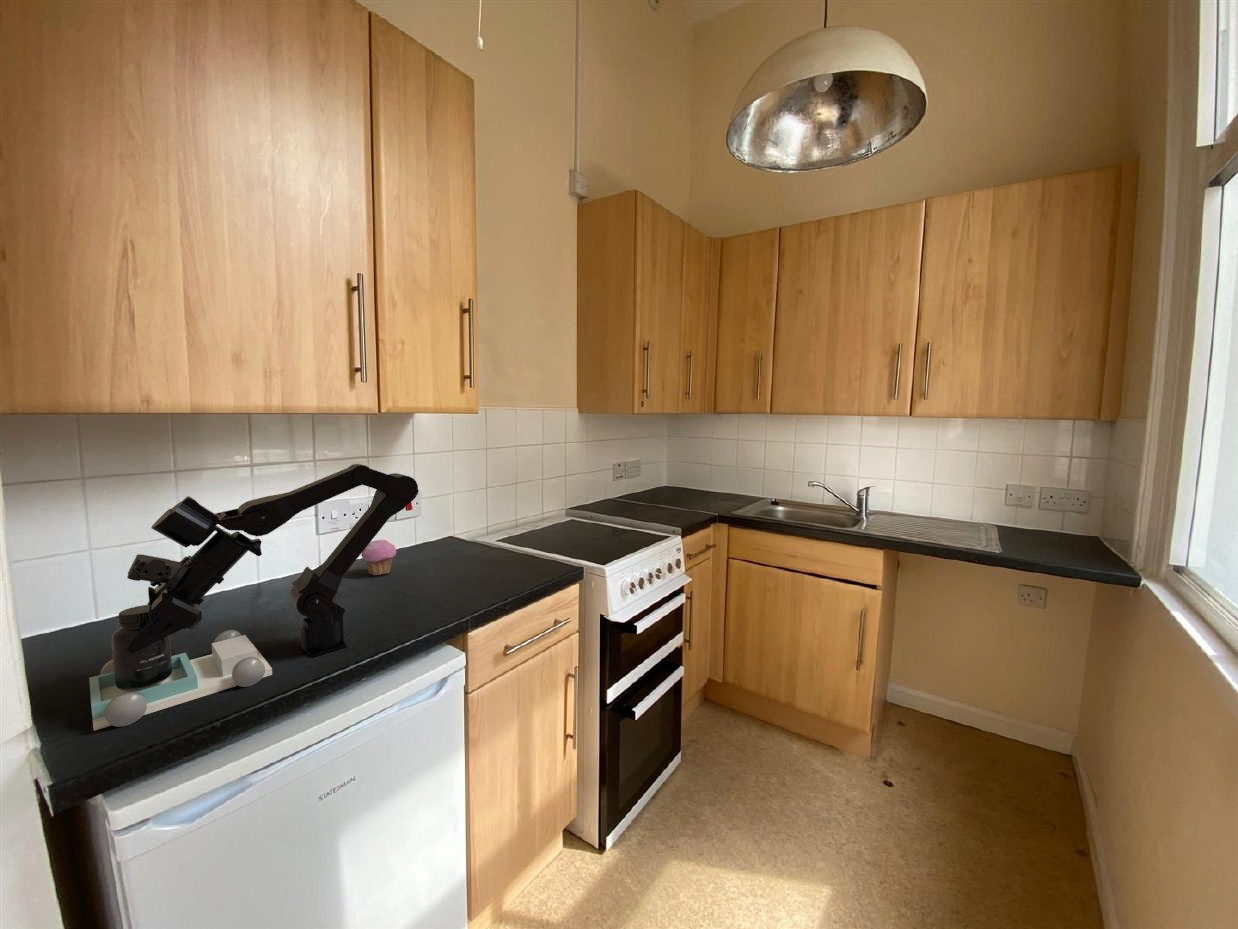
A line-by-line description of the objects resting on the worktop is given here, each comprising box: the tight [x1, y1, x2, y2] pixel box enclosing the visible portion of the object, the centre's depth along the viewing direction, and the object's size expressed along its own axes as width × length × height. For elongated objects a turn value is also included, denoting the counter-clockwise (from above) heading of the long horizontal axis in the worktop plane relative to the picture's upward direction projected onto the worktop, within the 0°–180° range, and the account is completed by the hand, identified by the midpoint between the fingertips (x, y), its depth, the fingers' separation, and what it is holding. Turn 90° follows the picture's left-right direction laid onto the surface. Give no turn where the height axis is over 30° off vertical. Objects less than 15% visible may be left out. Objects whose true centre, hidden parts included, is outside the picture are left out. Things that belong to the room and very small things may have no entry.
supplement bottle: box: [111, 604, 172, 690], centre depth 82 cm, size 7×7×12 cm
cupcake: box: [361, 539, 397, 576], centre depth 145 cm, size 9×9×10 cm
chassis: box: [88, 629, 273, 731], centre depth 86 cm, size 22×17×4 cm
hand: (129, 643), depth 81 cm, fingers closed on supplement bottle, 7 cm apart
